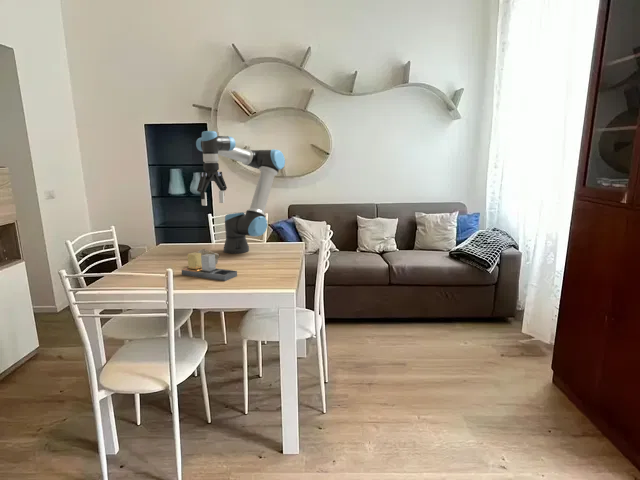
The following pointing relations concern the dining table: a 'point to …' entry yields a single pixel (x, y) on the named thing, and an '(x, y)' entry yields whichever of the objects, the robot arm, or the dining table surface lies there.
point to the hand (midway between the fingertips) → (213, 204)
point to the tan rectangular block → (194, 261)
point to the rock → (209, 253)
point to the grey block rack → (211, 274)
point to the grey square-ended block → (208, 263)
